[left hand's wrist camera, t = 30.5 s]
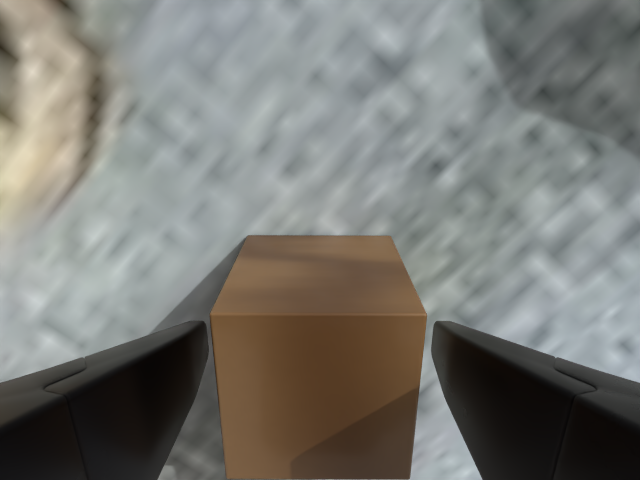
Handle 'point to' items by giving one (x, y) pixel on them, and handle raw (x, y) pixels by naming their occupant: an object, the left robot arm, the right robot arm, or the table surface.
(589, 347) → the table surface
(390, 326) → the block
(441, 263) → the table surface
